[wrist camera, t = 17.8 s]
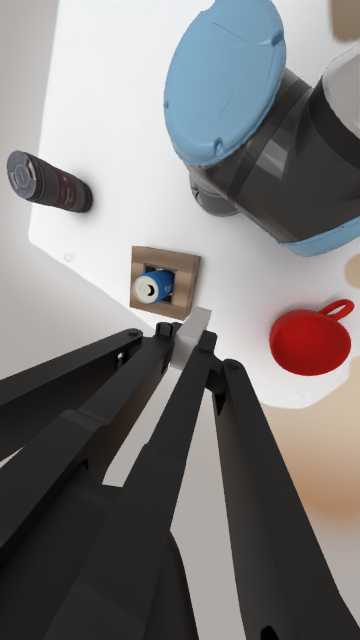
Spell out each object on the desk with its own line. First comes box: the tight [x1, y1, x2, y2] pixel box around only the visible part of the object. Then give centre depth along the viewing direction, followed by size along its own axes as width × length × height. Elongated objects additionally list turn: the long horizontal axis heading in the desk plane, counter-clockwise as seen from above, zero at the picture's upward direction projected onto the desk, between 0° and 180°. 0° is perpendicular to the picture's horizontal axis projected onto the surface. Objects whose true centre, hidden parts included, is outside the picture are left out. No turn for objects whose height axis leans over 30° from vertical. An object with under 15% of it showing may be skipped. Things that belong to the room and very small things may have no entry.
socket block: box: [130, 246, 200, 321], centre depth 45 cm, size 15×15×6 cm
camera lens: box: [7, 151, 92, 213], centre depth 41 cm, size 8×8×15 cm
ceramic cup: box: [269, 299, 354, 376], centre depth 38 cm, size 13×17×10 cm
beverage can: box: [133, 269, 175, 304], centre depth 42 cm, size 6×6×12 cm
